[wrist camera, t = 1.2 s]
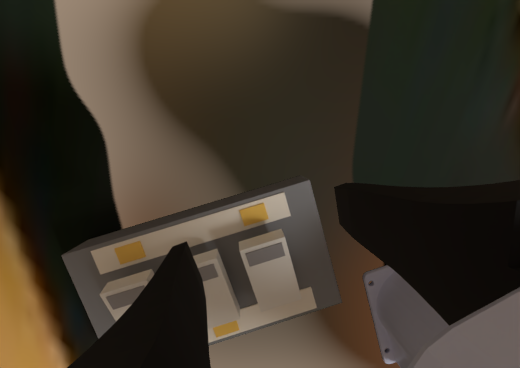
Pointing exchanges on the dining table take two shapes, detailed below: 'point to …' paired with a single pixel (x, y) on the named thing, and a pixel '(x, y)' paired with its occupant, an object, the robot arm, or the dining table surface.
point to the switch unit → (227, 243)
